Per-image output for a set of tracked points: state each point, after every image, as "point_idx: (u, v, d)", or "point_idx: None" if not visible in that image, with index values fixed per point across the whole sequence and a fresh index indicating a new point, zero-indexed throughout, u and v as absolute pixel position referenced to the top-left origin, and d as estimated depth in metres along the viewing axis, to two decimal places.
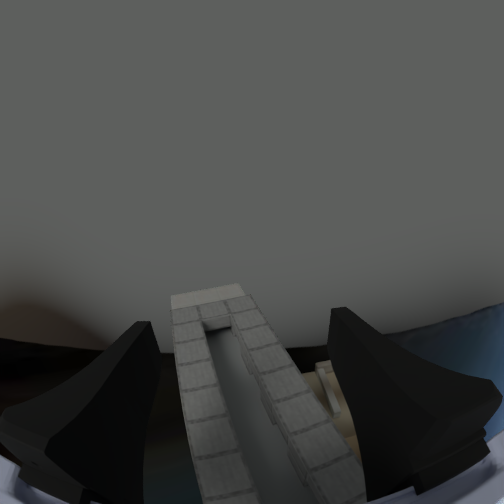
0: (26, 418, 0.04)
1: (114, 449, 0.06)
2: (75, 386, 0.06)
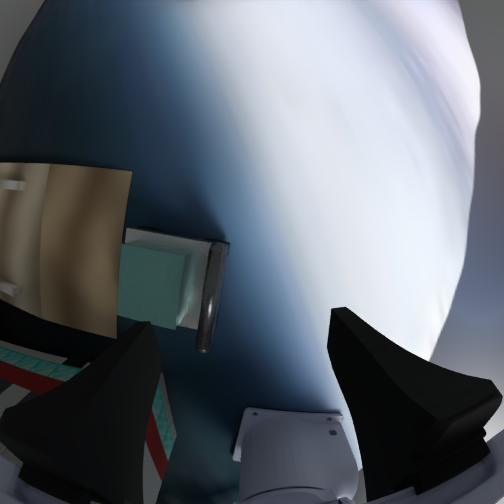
0: (26, 418, 0.04)
1: (114, 449, 0.06)
2: (75, 386, 0.06)
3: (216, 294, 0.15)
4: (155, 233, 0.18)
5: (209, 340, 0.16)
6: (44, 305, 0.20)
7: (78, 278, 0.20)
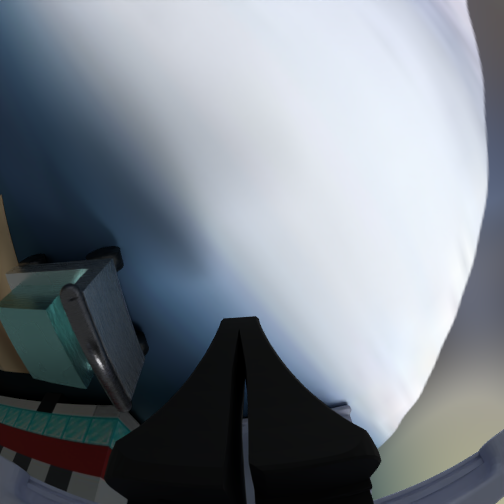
0: (162, 449, 0.04)
1: (238, 459, 0.06)
2: (195, 396, 0.06)
3: (98, 353, 0.09)
4: (29, 272, 0.10)
5: (123, 400, 0.10)
6: None
7: None
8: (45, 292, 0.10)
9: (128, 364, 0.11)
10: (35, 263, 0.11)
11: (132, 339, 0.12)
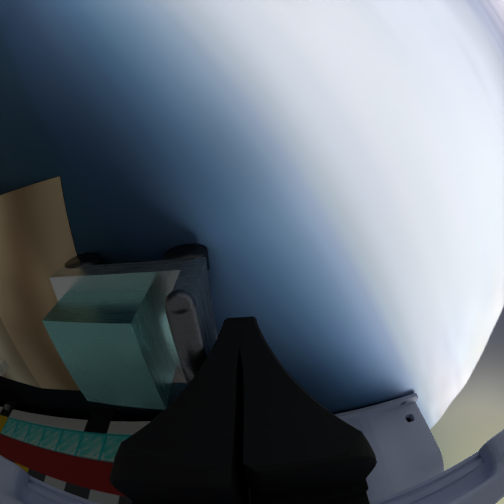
0: (168, 450, 0.04)
1: (242, 458, 0.06)
2: (200, 396, 0.06)
3: None
4: (87, 275, 0.10)
5: None
6: (36, 375, 0.14)
7: None
8: (116, 300, 0.09)
9: None
10: (90, 264, 0.11)
11: None
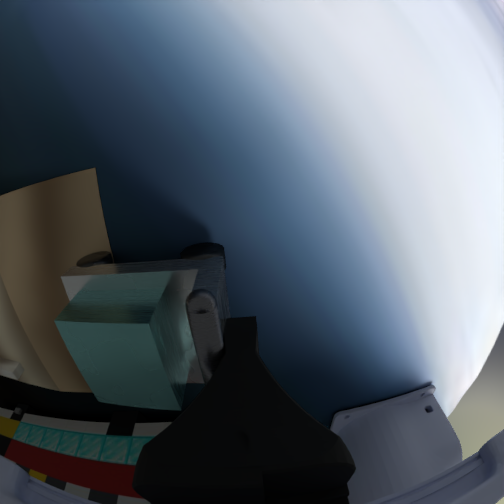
0: (194, 451, 0.04)
1: None
2: (220, 395, 0.06)
3: None
4: (100, 274, 0.10)
5: None
6: (56, 378, 0.14)
7: None
8: (132, 299, 0.09)
9: None
10: (103, 263, 0.11)
11: None
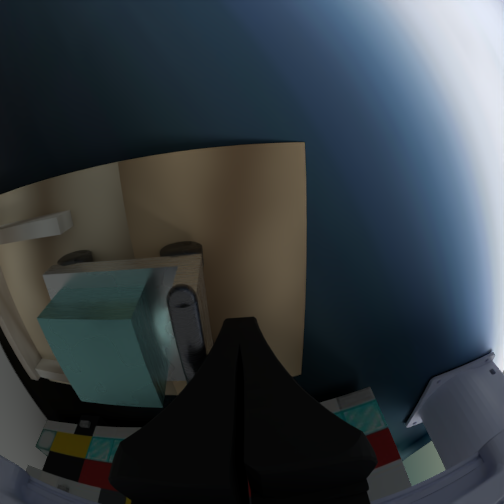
0: (167, 450, 0.04)
1: (241, 458, 0.06)
2: (199, 396, 0.06)
3: None
4: (82, 272, 0.10)
5: None
6: None
7: None
8: (113, 296, 0.09)
9: None
10: (84, 261, 0.11)
11: (212, 344, 0.12)
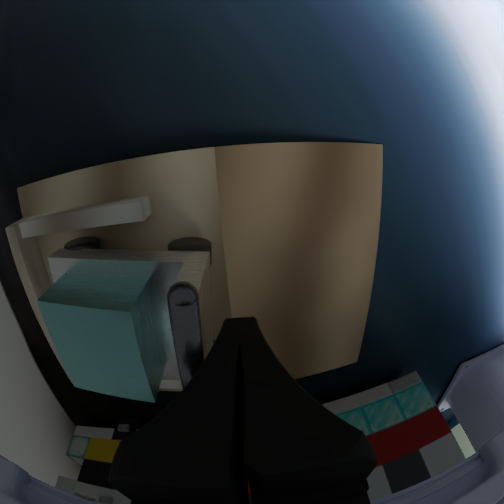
0: (166, 450, 0.04)
1: (241, 458, 0.06)
2: (199, 396, 0.06)
3: (200, 365, 0.08)
4: (86, 258, 0.10)
5: None
6: None
7: (312, 318, 0.15)
8: (115, 286, 0.09)
9: None
10: (90, 247, 0.11)
11: (212, 344, 0.12)
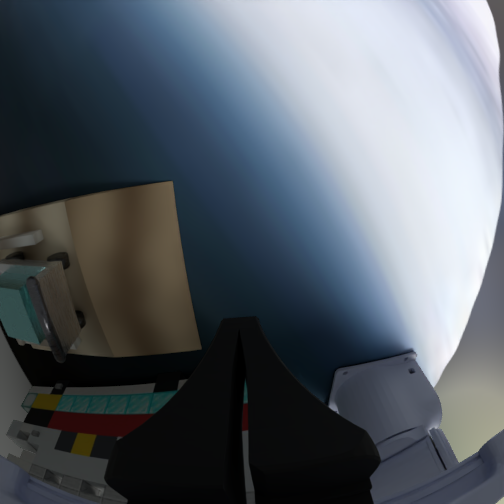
0: (162, 449, 0.04)
1: (238, 459, 0.06)
2: (195, 396, 0.06)
3: (45, 318, 0.14)
4: (11, 264, 0.15)
5: (59, 353, 0.15)
6: (113, 344, 0.21)
7: (144, 308, 0.20)
8: (20, 279, 0.15)
9: (66, 331, 0.16)
10: (16, 258, 0.16)
11: (72, 315, 0.17)
